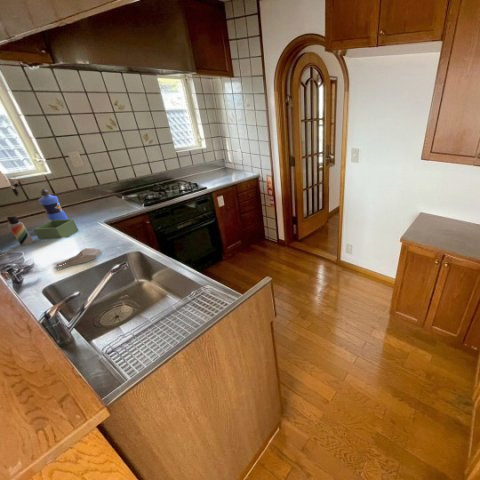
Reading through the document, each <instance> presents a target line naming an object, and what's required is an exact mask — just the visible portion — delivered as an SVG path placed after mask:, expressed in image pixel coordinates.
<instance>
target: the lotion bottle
mask: <svg viewBox="0 0 480 480" xmlns="http://www.w3.org/2000/svg"><path fill="white" fill-rule="evenodd" d="M5 219H6V220H7V222H8V223H9V224H8V227H9V229H10V231H11V232H12V234H13V235H14V237H15V239H16V240H17V242H18V243H19V245H20V246H21V247H26V246H30V245H32V244H34V243H35V241H34V239H33V238H32V236H31V233H29V231H28V229H27V228H26V226H25V225H24V223H23V222H22V221H20V220H19V219H18V217H17V216H16V215H13V214H12V215H11V214H10V215H7V216H6V218H5Z"/></svg>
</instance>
